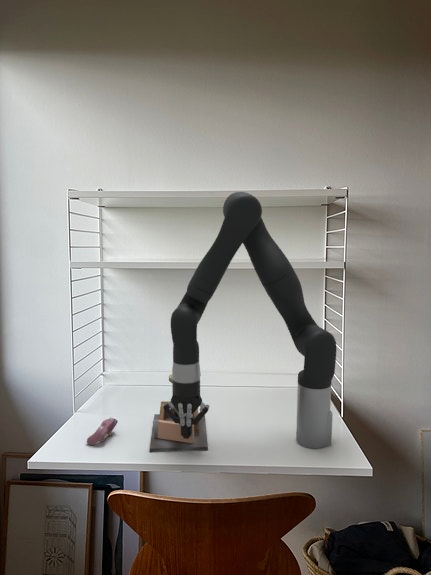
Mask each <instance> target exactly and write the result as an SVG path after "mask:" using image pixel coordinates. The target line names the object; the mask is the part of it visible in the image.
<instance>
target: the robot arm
mask: <svg viewBox="0 0 431 575" xmlns="http://www.w3.org/2000/svg"><path fill="white" fill-rule="evenodd" d="M222 213H223V217H224V218H223V222H222V224H221V227H220V229H219V232H218V234H217V236H216V238H215V240H214V242H213V243H212V245H211V246H210V248H209V249H208V250H207V252H206V253H205V255H204V257H203V258H202V259H201V261H200V262H199V264H198V266H197V267H196V269H195V271H194V273H193V275H192V277H191V279H190V280H189V282H188V285H187V287H186V292H185V293H184V295H183V297H182V299H181V300H180V302H179V304H178V306H177V307H176V308H175V309H174V310H173V311H172V313H171V316H170V334H171V339H172V340H171V341H172V345H173V346H172V368H171V369H172V371H171V374H172V383H171V385H172V395H171V399H170V401H169V400H168V401H169V402H166V404H165V405H164V407H163V408H164V410H165V411H166V412H167V413H168V415H169V416H170V417H171V419H172V420H173V421H174V422H175V423H178V424H180V425H181V436H183V438H185V439H189V437H191V434H192V425H196V424H197V423H198V422H199V421H200V420H201V419H202V418H203V416H204V415H205V416H206V414H207V413H208V412H209V410H210V405H209V404H205V403H204V402H203V398H202V397H201V365H200V347H199V346H200V345H199V342H198V324H199V323H200V320H201V319H202V317H203V314H204V313H205V310H206V308H207V306H208V303H209V302H210V300H211V299H212V298H213V296H214V293H215V292H216V291H217V289H218V287H219V285H220V283H221V281H222V279H223V278H224V275H225V273H226V272H227V270H228V268H229V266H230V264H231V262H232V260H233V259H234V257H235V255H236V253H237V252H238V251H239V249H240V248H241V246H242V244H243V247H244V248H245V249H246V252H247V255H248V257H249V260H250V262H251V265H252V266H253V267H252V268H254V271H255V273H256V275H257V277H258V279H259V282H260V284H261V285H262V287H263V288H264V290H265V292H266V294H267V295H268V297H269V299H270V300H271V302H272V304H273V306H274V307H275V309H276V310H277V312H278V313H279V315H280V316H281V317H282V319H283V321H284V322H285V326H286V328H287V330H288V331H289V334H290V337H291V339H292V341H293V344H294V346H295V348H296V350H297V352H299V354H300V355H302V356H304V357H303V358H304V360H303V369H302V370H300V371H299V372H298V374H297V392H296V394H297V395H296V396H297V398H296V400H297V401H296V402H297V403H296V432H295V434H296V436H295V439H296V440H295V441H296V442H297V444H298V445H301V447H302V446H303V447H305V448H309V449H322V448H326V447H328V446H331V445H332V439H333V438H332V436H333V411H332V410H331V402H332V401H331V400H332V380H333V378H334V375H335V371H336V362H337V342H336V341H337V340H336V339H335V336H334V335H333V334H332V333H331V332H329V331H328V330H325V329H324V328H322V327H320V326H319V325H318V323H316V321H315V320H314V318H313V317H312V315H311V313H310V312H309V309H308V308H307V306H306V303H305V299H304V292H303V286H302V284H301V281H300V279H299V277H298V275H297V273H296V271H295V269H294V267H293V265H292V264H291V262H290V260H289V259H288V257H287V256H286V254H285V253H284V252H283V250H282V249H281V248H280V247H279V245H278V243H276V241H275V240H274V239H273V237H272V236H271V234H270V233H269V231H268V229H267V227H266V224H265V222H264V220H263V218H262V214H263V209H262V205H261V202H260V200H259V199H258V198H257V197H256V196H254V195H252V194H251V193H248V192H244V191H236V192H233V193H231V194H230V195H228V196H227V197H226V199H225V200H224V202H223V207H222ZM173 407H175V408H176V410H177V411H178V412H179V415H178V413H177V412H176V411H175V410H174V408H173ZM197 408H198V409H199V411H198V413H199V414H198V415H197V416H196V417H195V418H193V413H194V412H195V411H196V410H197ZM186 414H187V419H186ZM186 421H187V423H186Z"/></svg>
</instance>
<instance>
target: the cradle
mask: <svg viewBox="0 0 431 575" xmlns="http://www.w3.org/2000/svg"><path fill="white" fill-rule="evenodd" d="M166 402H169V400H167V401H165V400H163V401H160V409H159V413H158V414H157V413H156V414H154V416H153V420H152V421H153V422H152V427H151V435H150V436H151V437H150V443H149V453H159V452H161V453H163V452H165V453H166V452H186V451H188V452H191V451H193V452H194V451H209V444H208V443H209V442H208V441H209V440H208V431H207V424H206V422H207V421H206V414H205V415H204V416H203V418H202V419H201V420H200V421H199V422H198V423H197V424H196V425H194V442H193V443H187V442H181V441H174V440H167V439H160V438H154V420H155V419H159V420H164V421H171V422H174V421H173V420H172V419H171V417H170V416H169V415H168V413H167V412H166V411H165V410H164V408H163V407H164V405H165V404H166ZM198 414H199V407H198V408H197V410H196V411H195V412H194V413H193V418H195V417H196V416H197V415H198ZM186 419H187V414H186ZM186 423H187V421H186Z"/></svg>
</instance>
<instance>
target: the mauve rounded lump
mask: <svg viewBox="0 0 431 575" xmlns="http://www.w3.org/2000/svg"><path fill="white" fill-rule="evenodd" d="M118 423H119V421H118V420H117V419H116V418H114V417H111V416H110V417H109V418H107V419H105V420H103V421H102V422H101V424H100V425H99V426H98V428H97V429H96V430H95V431H94V433H92V434H91V435H89V436H88V437H87V439H86V443H87V445H89V446H94V445H97V443H99V442H101V443H103V442H105V439H106V438H108V437H109V436H111V435H112V431H113V430H114V429H115V428H116V426H117V424H118Z"/></svg>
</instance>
